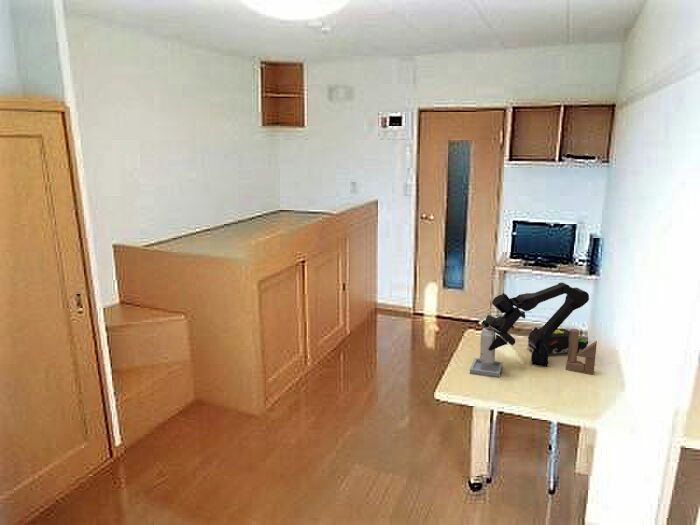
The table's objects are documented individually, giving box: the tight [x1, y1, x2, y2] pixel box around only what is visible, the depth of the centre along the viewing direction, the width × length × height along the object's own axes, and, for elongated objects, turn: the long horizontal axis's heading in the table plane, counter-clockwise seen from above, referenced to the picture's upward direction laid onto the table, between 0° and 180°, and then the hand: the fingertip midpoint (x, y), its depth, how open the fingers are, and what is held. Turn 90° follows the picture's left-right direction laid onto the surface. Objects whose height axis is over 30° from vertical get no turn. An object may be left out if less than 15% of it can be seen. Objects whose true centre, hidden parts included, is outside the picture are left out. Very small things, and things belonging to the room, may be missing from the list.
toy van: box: [527, 327, 588, 358], centre depth 238 cm, size 11×25×10 cm, turn 99°
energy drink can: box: [479, 328, 497, 365], centre depth 219 cm, size 6×6×15 cm
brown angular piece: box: [565, 328, 598, 375], centre depth 217 cm, size 4×11×18 cm, turn 60°
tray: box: [469, 357, 504, 379], centre depth 222 cm, size 12×12×2 cm
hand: (485, 347), depth 219 cm, fingers closed on energy drink can, 6 cm apart
